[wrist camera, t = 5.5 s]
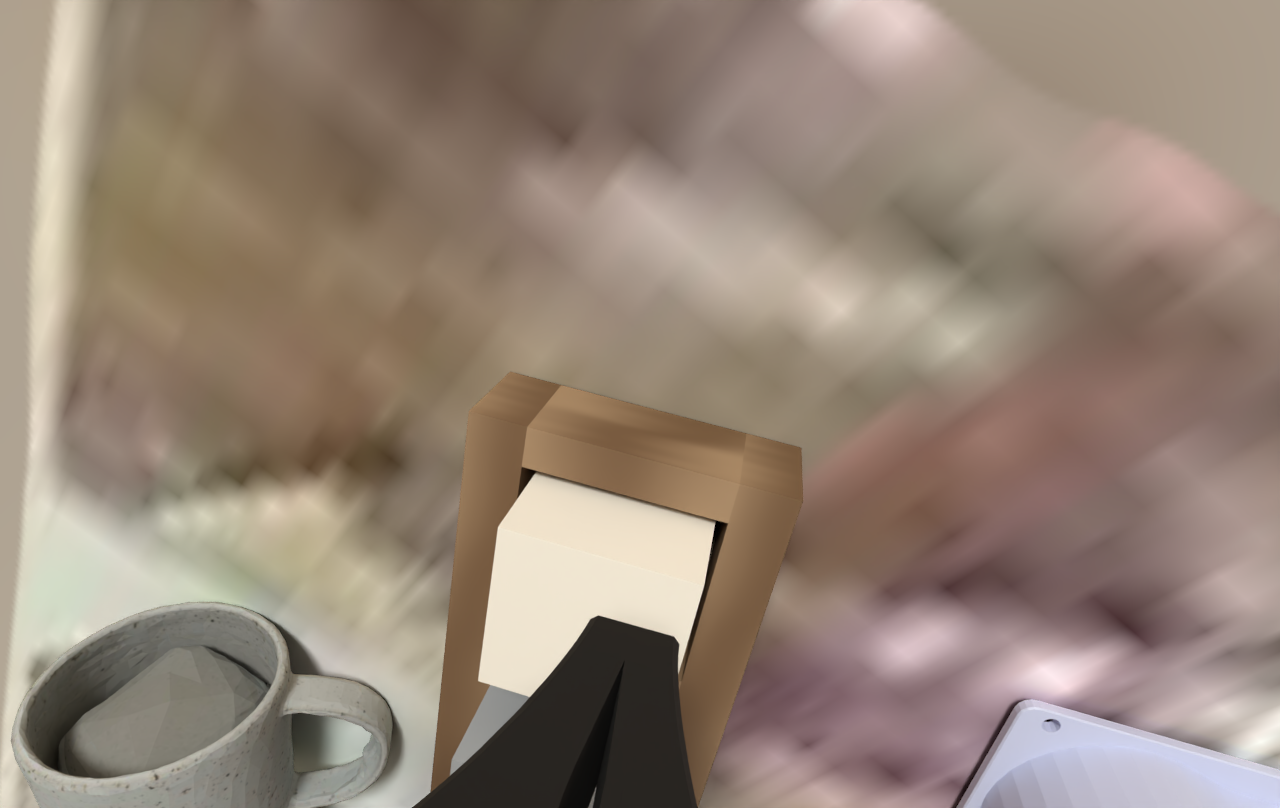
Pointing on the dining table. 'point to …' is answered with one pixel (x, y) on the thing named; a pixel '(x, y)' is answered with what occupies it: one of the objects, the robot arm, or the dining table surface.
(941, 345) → the dining table surface
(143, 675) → the ceramic mug
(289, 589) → the dining table surface
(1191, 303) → the dining table surface
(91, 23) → the dining table surface
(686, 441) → the keypad frame
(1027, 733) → the robot arm
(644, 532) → the key ivory
